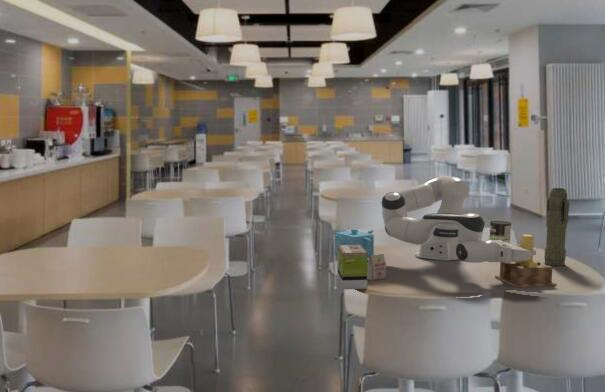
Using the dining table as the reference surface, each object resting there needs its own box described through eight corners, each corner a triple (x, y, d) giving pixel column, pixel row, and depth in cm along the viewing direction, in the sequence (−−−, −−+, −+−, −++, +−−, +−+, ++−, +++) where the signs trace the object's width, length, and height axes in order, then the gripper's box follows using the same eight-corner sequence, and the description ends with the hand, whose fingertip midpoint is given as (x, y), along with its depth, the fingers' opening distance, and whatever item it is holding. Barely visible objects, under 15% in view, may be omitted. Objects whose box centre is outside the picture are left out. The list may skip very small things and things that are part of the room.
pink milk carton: (366, 278, 251) (367, 254, 250) (380, 276, 255) (380, 253, 253) (371, 280, 248) (372, 256, 247) (385, 278, 251) (386, 254, 250)
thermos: (558, 268, 272) (563, 190, 268) (537, 262, 282) (541, 187, 278) (572, 266, 276) (576, 189, 272) (550, 260, 286) (554, 186, 282)
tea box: (336, 280, 249) (336, 244, 247) (360, 279, 249) (361, 244, 248) (342, 289, 234) (342, 252, 232) (367, 289, 235) (368, 251, 233)
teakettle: (373, 265, 276) (373, 233, 274) (331, 263, 278) (332, 231, 276) (373, 256, 294) (374, 226, 293) (335, 254, 297) (335, 225, 295)
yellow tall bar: (528, 280, 242) (530, 238, 240) (514, 273, 253) (516, 233, 251) (536, 279, 243) (538, 237, 241) (522, 273, 253) (524, 233, 251)
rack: (515, 287, 239) (515, 269, 238) (495, 277, 254) (495, 261, 253) (556, 285, 242) (557, 268, 241) (534, 275, 257) (535, 259, 257)
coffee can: (494, 251, 307) (495, 224, 306) (485, 247, 317) (486, 220, 316) (513, 251, 308) (514, 223, 307) (504, 247, 319) (505, 220, 317)
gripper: (484, 253, 255) (514, 252, 257) (509, 264, 235) (542, 263, 237) (485, 238, 254) (515, 237, 256) (510, 248, 234) (543, 247, 236)
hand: (528, 250), depth 247 cm, fingers open, 8 cm apart
